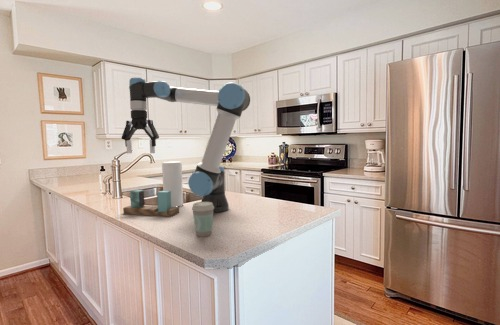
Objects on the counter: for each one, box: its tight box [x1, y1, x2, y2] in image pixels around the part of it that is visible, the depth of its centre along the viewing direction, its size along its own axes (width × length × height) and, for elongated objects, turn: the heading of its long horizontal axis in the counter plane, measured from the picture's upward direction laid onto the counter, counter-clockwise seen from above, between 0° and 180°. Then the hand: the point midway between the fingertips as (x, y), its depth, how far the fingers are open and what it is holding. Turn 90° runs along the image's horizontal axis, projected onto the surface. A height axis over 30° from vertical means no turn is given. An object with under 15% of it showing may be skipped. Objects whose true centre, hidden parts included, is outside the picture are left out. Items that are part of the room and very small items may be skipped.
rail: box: [122, 189, 180, 217], centre depth 141 cm, size 28×7×12 cm, turn 74°
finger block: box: [156, 190, 171, 212], centre depth 139 cm, size 6×4×10 cm
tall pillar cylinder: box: [161, 160, 184, 207], centre depth 157 cm, size 11×11×25 cm
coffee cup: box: [191, 201, 214, 238], centre depth 107 cm, size 9×9×12 cm
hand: (140, 153), depth 138 cm, fingers open, 13 cm apart
